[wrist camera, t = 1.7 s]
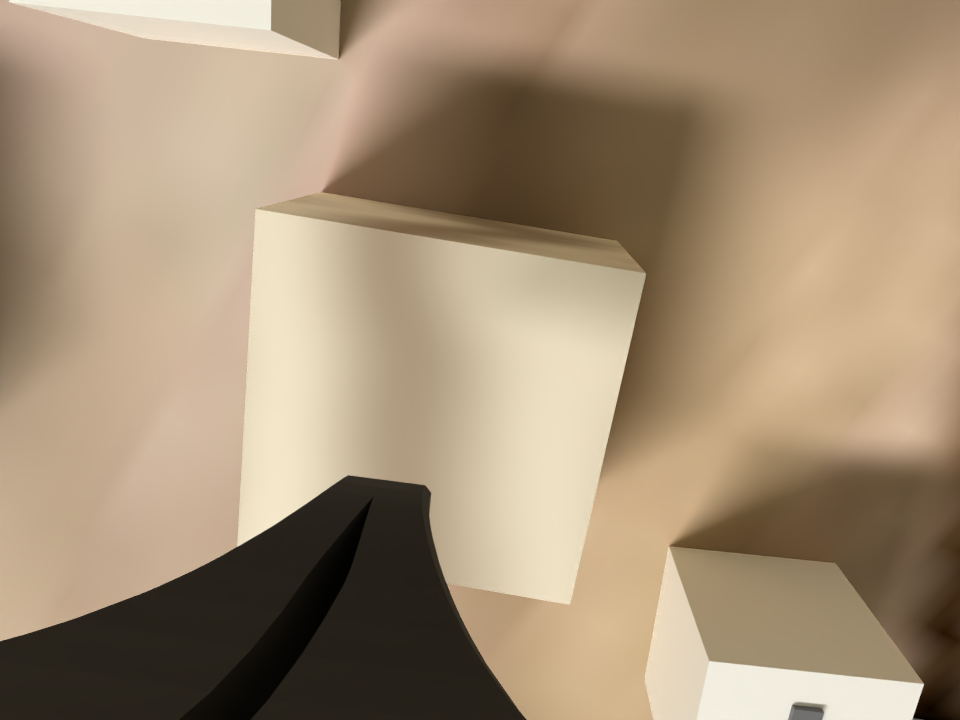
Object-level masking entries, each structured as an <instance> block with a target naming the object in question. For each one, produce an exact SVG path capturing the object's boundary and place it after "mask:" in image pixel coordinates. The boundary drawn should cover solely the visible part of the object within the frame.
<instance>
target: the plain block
mask: <svg viewBox="0 0 960 720" xmlns="http://www.w3.org/2000/svg"><path fill="white" fill-rule="evenodd" d="M645 277H646V272H645V271H644V270H643V269H642V268H641V267H640V266H639V265H638V263H637V262H636V261H635V260H634V259H633V258H632V257H631V256H630V255H629V253H628V252H627V251H626V250H625V249H624V248H623V247H622V246H621V244H620V243H619V242H618V241H616V240H610V239H604V238H598V237H592V236H586V235H580V234H574V233H568V232H562V231H555V230H549V229H543V228H537V227H531V226H525V225H519V224H513V223H507V222H501V221H495V220H489V219H482V218H476V217H470V216H464V215H458V214H452V213H446V212H440V211H434V210H428V209H422V208H416V207H410V206H403V205H397V204H391V203H385V202H379V201H373V200H367V199H361V198H355V197H349V196H343V195H337V194H330V193H324V192H320V193H316V194H312V195H308V196H304V197H301V198H297V199H293V200H289V201H285V202H281V203H277V204H273V205H269V206H265V207H261V208H258V209H256V212H255V230H254V249H253V268H252V286H251V305H250V323H249V342H248V360H247V379H246V397H245V416H244V434H243V453H242V471H241V490H240V508H239V527H238V545H237V547H238V546H240V545H241V544H243V543H245V542H246V541H248V540H250V539H252V538H253V537H255V536H257V535H258V534H260V533H262V532H264V531H265V530H267V529H269V528H270V527H272V526H274V525H275V524H277V523H278V522H280V521H281V520H283V519H284V518H286V517H287V516H289V515H290V514H292V513H293V512H295V511H296V510H298V509H299V508H301V507H302V506H304V505H305V504H307V503H308V502H309V501H311V500H312V499H314V498H315V497H317V496H318V495H320V494H321V493H322V492H324V491H325V490H327V489H328V488H329V487H331V486H332V485H334V484H335V483H337V482H338V481H340V480H341V479H343V478H344V477H346V476H347V475H350V476H358V477H366V478H373V479H381V480H389V481H397V482H405V483H413V484H420V485H425V486H426V487H427V488H428V489H429V491H430V492H431V502H430V513H429V518H430V525H431V531H432V536H433V541H434V544H435V548H436V552H437V556H438V560H439V563H440V566H441V569H442V572H443V575H444V578H445V581H446V583H447V584H453V585H459V586H464V587H470V588H476V589H482V590H488V591H493V592H499V593H505V594H511V595H517V596H523V597H528V598H534V599H540V600H546V601H552V602H557V603H563V604H569V605H570V602H571V598H572V593H573V589H574V585H575V580H576V576H577V572H578V567H579V563H580V559H581V554H582V550H583V546H584V541H585V537H586V533H587V528H588V524H589V520H590V515H591V511H592V507H593V502H594V498H595V494H596V489H597V485H598V481H599V476H600V472H601V468H602V463H603V459H604V455H605V450H606V446H607V442H608V437H609V433H610V429H611V424H612V420H613V416H614V411H615V407H616V403H617V399H618V394H619V390H620V386H621V381H622V377H623V373H624V368H625V364H626V360H627V355H628V351H629V347H630V342H631V338H632V334H633V329H634V325H635V321H636V316H637V312H638V308H639V303H640V299H641V295H642V290H643V286H644V282H645Z"/></svg>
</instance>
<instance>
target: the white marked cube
mask: <svg viewBox="0 0 960 720" xmlns="http://www.w3.org/2000/svg"><path fill="white" fill-rule="evenodd" d="M645 683H646V688H647V693H648V697H649V702H650V706H651V711H652V715H653V720H912V719H913V716H914V713H915V710H916V707H917V704H918V701H919V698H920V695H921V692H922V689H923V686H924V683H923V682H922V681H921V679H920V678H919V676H918V675H917V674H916V672H915V671H914V670H913V668H912V667H911V665H910V664H909V663H908V661H907V660H906V659H905V657H904V656H903V655H902V653H901V652H900V650H899V649H898V648H897V646H896V645H895V644H894V642H893V641H892V639H891V638H890V637H889V635H888V634H887V633H886V631H885V630H884V629H883V627H882V626H881V624H880V623H879V622H878V620H877V619H876V618H875V616H874V615H873V613H872V612H871V611H870V609H869V608H868V607H867V605H866V604H865V603H864V601H863V600H862V598H861V597H860V596H859V594H858V593H857V592H856V590H855V589H854V587H853V586H852V585H851V583H850V582H849V581H848V579H847V578H846V577H845V575H844V574H843V572H842V571H841V570H840V568H839V567H838V566H837V564H836V563H830V562H820V561H810V560H800V559H791V558H781V557H771V556H761V555H751V554H741V553H731V552H722V551H712V550H702V549H692V548H682V547H672V546H669V548H668V554H667V559H666V564H665V570H664V575H663V581H662V586H661V592H660V597H659V603H658V608H657V614H656V619H655V625H654V630H653V636H652V641H651V647H650V652H649V658H648V663H647V669H646V674H645Z"/></svg>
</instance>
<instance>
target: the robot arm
mask: <svg viewBox="0 0 960 720" xmlns="http://www.w3.org/2000/svg"><path fill="white" fill-rule="evenodd" d="M430 502H431V492H430V491H429V489H428V488H427V487H426V486H425V485H420V484H413V483H405V482H397V481H389V480H381V479H373V478H366V477H358V476H350V475H347V476H346V477H344V478H343V479H341V480H340V481H338V482H337V483H335V484H334V485H332V486H331V487H329V488H328V489H327V490H325V491H324V492H322V493H321V494H320V495H318V496H317V497H315V498H314V499H312V500H311V501H309V502H308V503H307V504H305V505H304V506H302V507H301V508H299V509H298V510H296V511H295V512H293V513H292V514H290V515H289V516H287V517H286V518H284V519H283V520H281V521H280V522H278V523H277V524H275V525H274V526H272V527H270V528H269V529H267V530H265V531H264V532H262V533H260V534H258V535H257V536H255V537H253V538H252V539H250V540H248V541H246V542H245V543H243V544H241V545H240V546H238V547H236V548H235V549H233V550H231V551H229V552H228V553H226V554H224V555H223V556H221V557H219V558H217V559H215V560H213V561H211V562H209V563H207V564H205V565H204V566H202V567H200V568H198V569H196V570H194V571H192V572H189V573H187V574H185V575H183V576H181V577H179V578H176V579H174V580H172V581H170V582H168V583H165V584H163V585H161V586H159V587H157V588H154V589H152V590H150V591H147V592H145V593H142V594H140V595H137V596H134V597H132V598H129V599H126V600H124V601H121V602H118V603H116V604H113V605H110V606H108V607H105V608H102V609H100V610H97V611H94V612H92V613H89V614H86V615H84V616H81V617H78V618H76V619H73V620H70V621H67V622H64V623H60V624H57V625H54V626H51V627H48V628H44V629H41V630H38V631H35V632H32V633H28V634H25V635H21V636H18V637H14V638H11V639H7V640H4V641H0V720H526V718H525V717H524V716H523V715H522V714H521V712H520V711H519V710H518V709H517V707H516V706H515V704H514V703H513V701H512V700H511V699H510V697H509V696H508V694H507V693H506V691H505V690H504V689H503V687H502V686H501V684H500V683H499V681H498V680H497V679H496V677H495V676H494V674H493V673H492V671H491V670H490V669H489V667H488V666H487V664H486V663H485V661H484V659H483V658H482V656H481V654H480V652H479V651H478V649H477V647H476V645H475V644H474V642H473V640H472V638H471V637H470V635H469V633H468V631H467V629H466V627H465V625H464V623H463V621H462V619H461V617H460V615H459V613H458V610H457V608H456V606H455V604H454V601H453V599H452V596H451V594H450V591H449V589H448V586H447V583H446V581H445V578H444V575H443V572H442V569H441V566H440V563H439V560H438V556H437V552H436V548H435V544H434V541H433V536H432V531H431V525H430V518H429V513H430ZM912 720H922V719H914V718H913V719H912Z"/></svg>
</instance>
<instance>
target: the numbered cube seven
mask: <svg viewBox="0 0 960 720" xmlns="http://www.w3.org/2000/svg"><path fill="white" fill-rule="evenodd" d="M9 2H11V3H14V4H18V5H22V6H26V7H29V8H33V9H37V10H41V11H44V12H48V13H52V14H56V15H59V16H63V17H67V18H71V19H74V20H78V21H82V22H85V23H89V24H93V25H97V26H100V27H104V28H108V29H112V30H115V31H119V32H123V33H127V34H130V35H134V36H138V37H142V38H145V39H154V40H163V41H173V42H182V43H191V44H200V45H209V46H219V47H228V48H237V49H246V50H255V51H265V52H274V53H283V54H292V55H301V56H311V57H320V58H329V59H338V60H339V37H340V12H341V0H9Z"/></svg>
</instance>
